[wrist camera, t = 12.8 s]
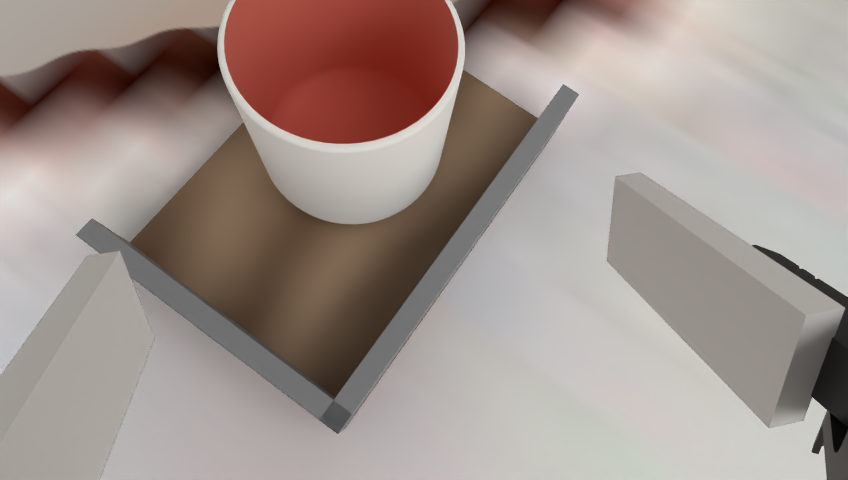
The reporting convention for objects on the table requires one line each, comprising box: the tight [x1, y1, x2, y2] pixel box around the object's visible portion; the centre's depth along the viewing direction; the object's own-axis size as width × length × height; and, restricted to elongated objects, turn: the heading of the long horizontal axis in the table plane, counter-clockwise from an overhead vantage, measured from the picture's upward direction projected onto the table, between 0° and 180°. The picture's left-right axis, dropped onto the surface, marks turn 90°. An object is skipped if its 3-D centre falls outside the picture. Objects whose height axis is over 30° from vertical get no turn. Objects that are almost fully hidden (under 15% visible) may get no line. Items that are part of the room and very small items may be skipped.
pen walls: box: [76, 84, 579, 434], centre depth 29 cm, size 15×21×4 cm
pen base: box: [130, 70, 554, 429], centre depth 31 cm, size 15×21×1 cm
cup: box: [217, 0, 465, 224], centre depth 27 cm, size 10×10×10 cm
